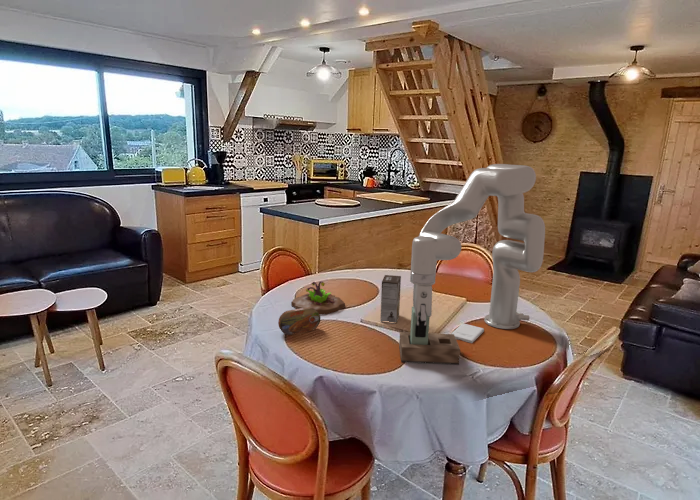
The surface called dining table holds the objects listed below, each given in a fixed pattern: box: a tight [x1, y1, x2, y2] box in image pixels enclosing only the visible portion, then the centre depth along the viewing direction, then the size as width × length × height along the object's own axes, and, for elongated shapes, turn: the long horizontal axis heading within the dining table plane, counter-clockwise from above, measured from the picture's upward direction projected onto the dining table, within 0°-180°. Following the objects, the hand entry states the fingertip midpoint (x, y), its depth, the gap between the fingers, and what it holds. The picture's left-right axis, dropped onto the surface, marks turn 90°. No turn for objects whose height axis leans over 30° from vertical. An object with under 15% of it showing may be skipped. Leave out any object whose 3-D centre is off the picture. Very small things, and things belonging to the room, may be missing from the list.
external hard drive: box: [450, 322, 485, 344], centre depth 156 cm, size 2×8×12 cm
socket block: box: [398, 331, 461, 366], centre depth 139 cm, size 18×11×5 cm, turn 87°
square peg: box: [409, 306, 430, 345], centre depth 138 cm, size 5×5×12 cm
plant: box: [290, 280, 346, 316], centre depth 180 cm, size 20×20×11 cm
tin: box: [278, 307, 321, 336], centre depth 155 cm, size 15×3×8 cm, turn 117°
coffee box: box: [379, 274, 402, 323], centre depth 167 cm, size 9×6×16 cm
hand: (419, 332), depth 138 cm, fingers closed on square peg, 5 cm apart
